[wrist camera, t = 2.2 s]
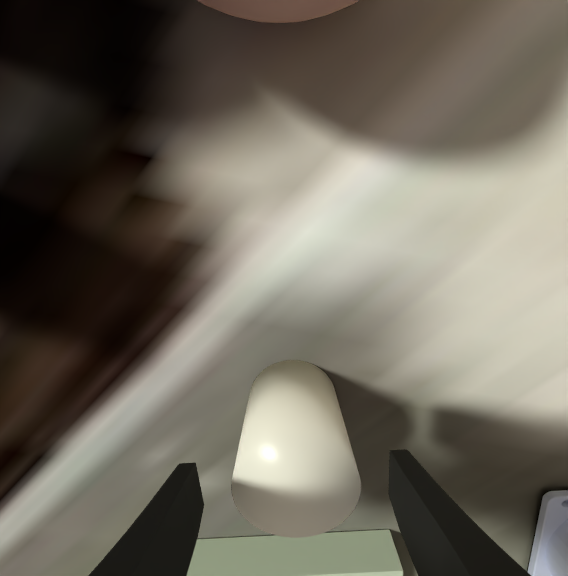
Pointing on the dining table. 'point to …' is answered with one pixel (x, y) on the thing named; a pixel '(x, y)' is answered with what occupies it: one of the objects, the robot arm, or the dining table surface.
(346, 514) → the white egg shape
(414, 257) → the dining table surface
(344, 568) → the holder
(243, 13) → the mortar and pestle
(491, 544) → the robot arm
